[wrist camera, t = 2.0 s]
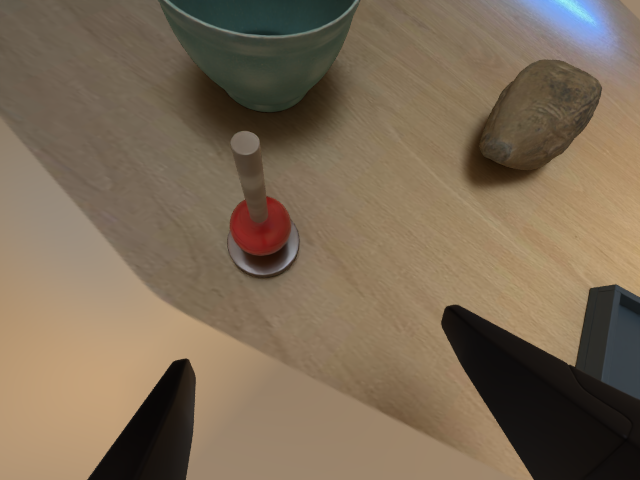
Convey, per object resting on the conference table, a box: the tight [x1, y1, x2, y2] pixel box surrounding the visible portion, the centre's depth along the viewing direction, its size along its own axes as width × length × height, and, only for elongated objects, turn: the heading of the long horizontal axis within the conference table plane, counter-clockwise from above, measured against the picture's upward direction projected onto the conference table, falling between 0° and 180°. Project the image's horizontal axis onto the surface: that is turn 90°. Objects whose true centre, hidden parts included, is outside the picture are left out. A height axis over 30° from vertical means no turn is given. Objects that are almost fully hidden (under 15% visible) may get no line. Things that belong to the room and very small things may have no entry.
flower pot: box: [158, 0, 360, 112], centre depth 26 cm, size 16×16×11 cm
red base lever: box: [227, 131, 299, 278], centre depth 18 cm, size 6×6×14 cm
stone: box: [480, 60, 602, 170], centre depth 29 cm, size 17×9×8 cm, turn 135°
